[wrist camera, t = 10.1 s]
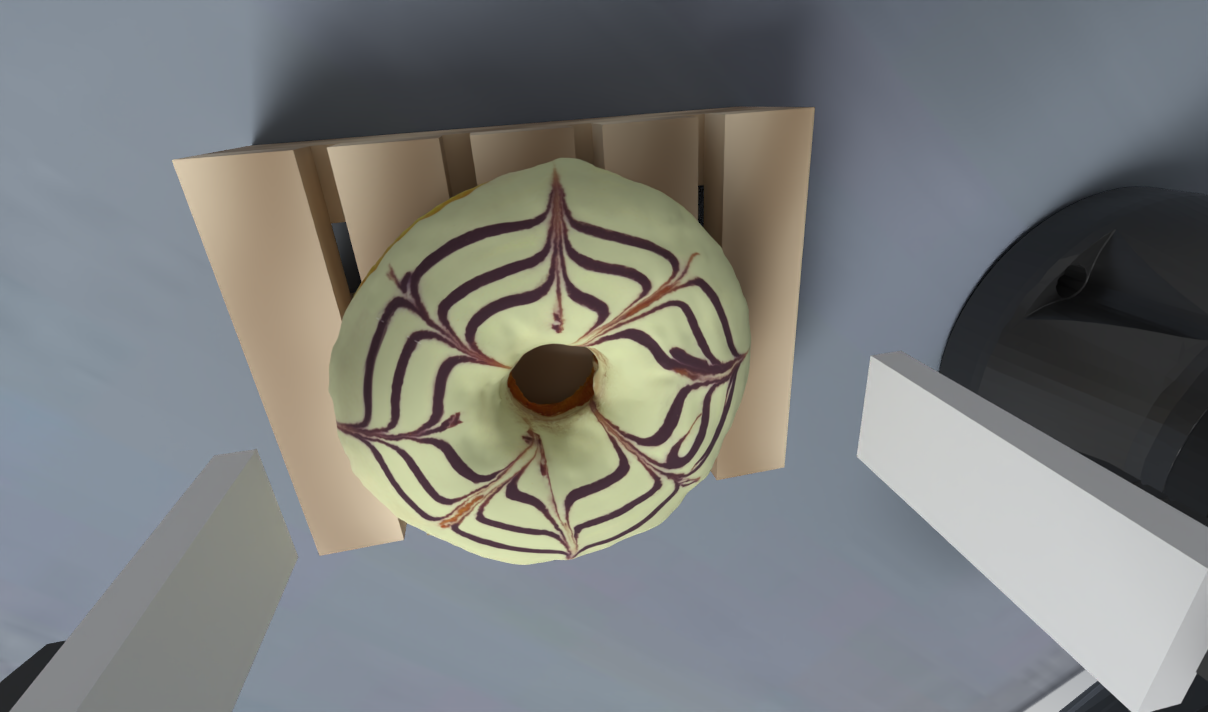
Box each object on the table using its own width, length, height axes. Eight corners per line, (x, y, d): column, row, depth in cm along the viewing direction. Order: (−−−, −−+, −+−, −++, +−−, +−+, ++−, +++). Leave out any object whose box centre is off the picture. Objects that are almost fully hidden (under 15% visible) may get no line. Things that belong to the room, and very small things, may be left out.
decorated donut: (781, 320, 18) (852, 371, 14) (561, 544, 20) (580, 634, 16) (529, 67, 13) (548, 55, 10) (277, 385, 15) (222, 465, 12)
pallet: (738, 106, 20) (815, 107, 15) (728, 401, 25) (784, 467, 20) (250, 145, 17) (171, 160, 13) (351, 465, 22) (319, 556, 18)
